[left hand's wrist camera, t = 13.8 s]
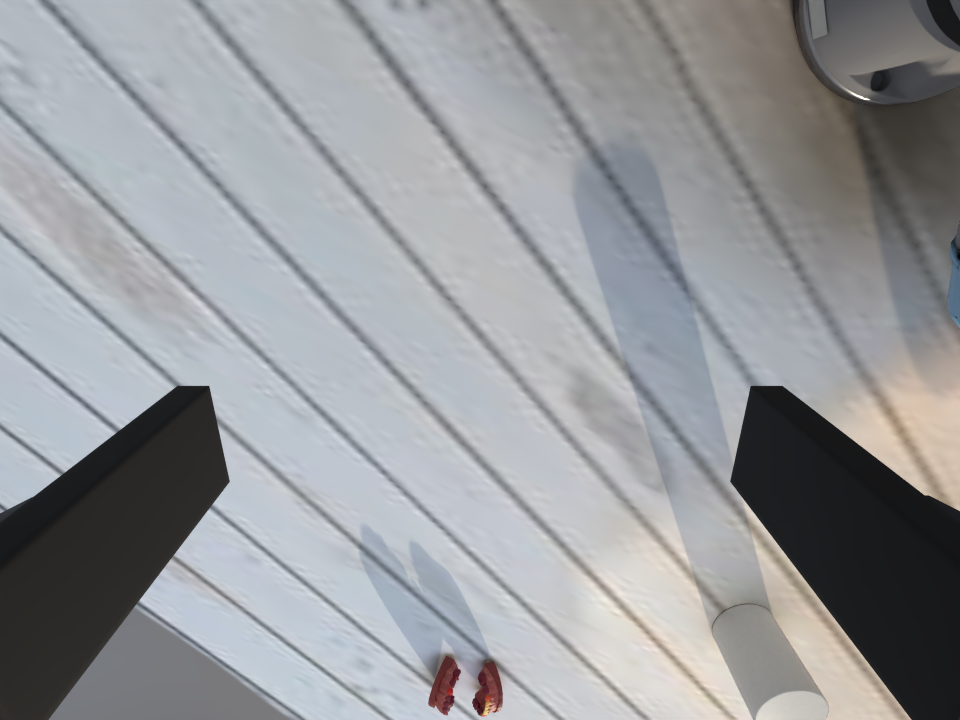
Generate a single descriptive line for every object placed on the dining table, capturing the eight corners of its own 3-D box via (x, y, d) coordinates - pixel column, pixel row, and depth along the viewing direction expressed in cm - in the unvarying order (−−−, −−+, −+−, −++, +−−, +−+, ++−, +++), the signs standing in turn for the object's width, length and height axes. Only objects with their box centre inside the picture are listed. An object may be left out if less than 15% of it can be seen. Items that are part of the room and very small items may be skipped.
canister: (765, 595, 55) (820, 681, 46) (780, 636, 57) (836, 726, 48) (704, 616, 56) (746, 704, 47) (721, 655, 58) (765, 747, 49)
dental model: (497, 733, 56) (424, 724, 56) (496, 696, 60) (428, 687, 60) (507, 696, 54) (432, 686, 54) (505, 661, 58) (435, 651, 58)
